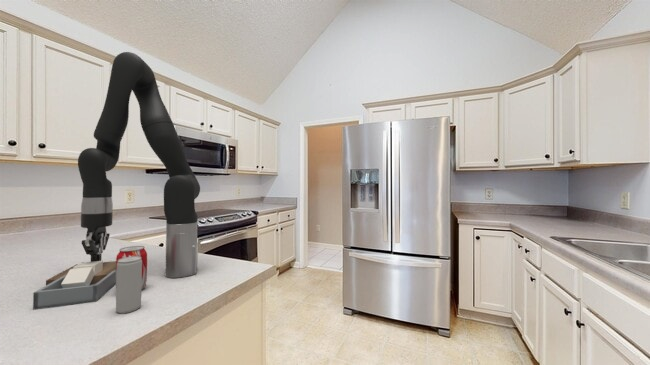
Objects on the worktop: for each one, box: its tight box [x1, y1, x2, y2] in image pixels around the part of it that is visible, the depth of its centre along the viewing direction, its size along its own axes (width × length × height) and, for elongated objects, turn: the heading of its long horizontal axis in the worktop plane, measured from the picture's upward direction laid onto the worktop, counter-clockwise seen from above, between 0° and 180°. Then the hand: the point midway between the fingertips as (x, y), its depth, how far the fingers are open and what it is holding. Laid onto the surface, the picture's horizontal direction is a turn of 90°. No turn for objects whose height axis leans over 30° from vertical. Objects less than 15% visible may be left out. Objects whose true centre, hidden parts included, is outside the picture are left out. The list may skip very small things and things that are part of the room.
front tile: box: [61, 267, 95, 288], centre depth 72 cm, size 5×5×3 cm
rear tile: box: [73, 260, 104, 275], centre depth 77 cm, size 5×5×3 cm
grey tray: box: [32, 270, 116, 310], centre depth 69 cm, size 12×13×4 cm
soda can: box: [115, 245, 148, 291], centre depth 72 cm, size 7×7×12 cm
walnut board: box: [45, 260, 116, 286], centre depth 82 cm, size 16×16×3 cm
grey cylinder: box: [115, 256, 142, 314], centre depth 61 cm, size 5×5×12 cm
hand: (95, 266), depth 81 cm, fingers closed
